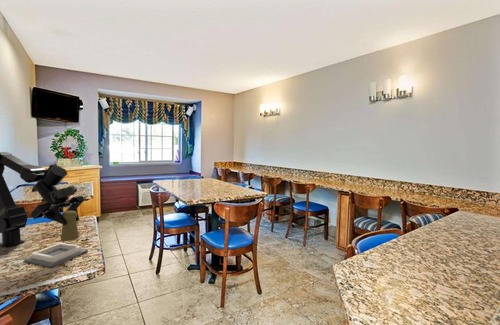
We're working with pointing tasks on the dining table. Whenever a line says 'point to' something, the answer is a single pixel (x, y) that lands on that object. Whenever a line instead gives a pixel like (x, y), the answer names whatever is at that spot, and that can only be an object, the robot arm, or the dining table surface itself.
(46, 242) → the dining table surface
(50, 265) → the grey square tray
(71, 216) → the olive tapered shaker
